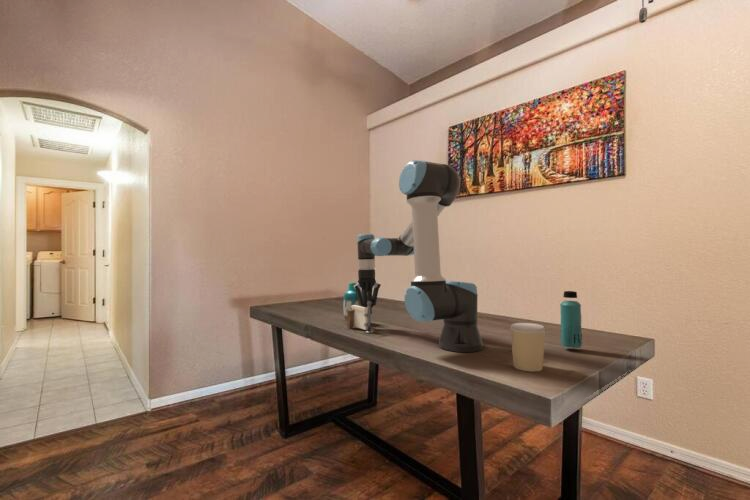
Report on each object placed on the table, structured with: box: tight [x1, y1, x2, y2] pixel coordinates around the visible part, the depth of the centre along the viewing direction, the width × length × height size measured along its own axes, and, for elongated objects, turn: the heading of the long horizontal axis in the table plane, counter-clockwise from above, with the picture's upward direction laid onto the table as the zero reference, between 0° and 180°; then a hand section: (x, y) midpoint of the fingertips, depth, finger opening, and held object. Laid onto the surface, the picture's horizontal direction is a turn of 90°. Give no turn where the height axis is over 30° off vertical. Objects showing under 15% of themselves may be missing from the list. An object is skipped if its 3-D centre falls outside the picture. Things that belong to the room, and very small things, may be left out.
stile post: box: [346, 309, 355, 330], centre depth 161 cm, size 3×3×8 cm
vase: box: [342, 282, 362, 322], centre depth 172 cm, size 11×11×19 cm
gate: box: [351, 305, 368, 331], centre depth 157 cm, size 12×2×9 cm, turn 35°
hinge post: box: [364, 301, 375, 334], centre depth 152 cm, size 4×4×13 cm
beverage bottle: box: [559, 290, 583, 349], centre depth 123 cm, size 6×7×20 cm
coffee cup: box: [509, 322, 546, 372], centre depth 105 cm, size 9×9×12 cm
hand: (367, 321), depth 161 cm, fingers closed
